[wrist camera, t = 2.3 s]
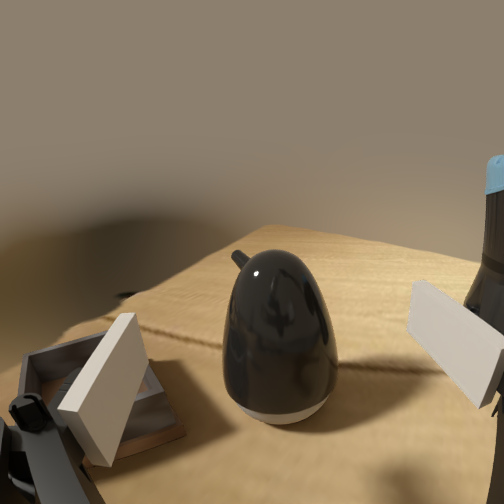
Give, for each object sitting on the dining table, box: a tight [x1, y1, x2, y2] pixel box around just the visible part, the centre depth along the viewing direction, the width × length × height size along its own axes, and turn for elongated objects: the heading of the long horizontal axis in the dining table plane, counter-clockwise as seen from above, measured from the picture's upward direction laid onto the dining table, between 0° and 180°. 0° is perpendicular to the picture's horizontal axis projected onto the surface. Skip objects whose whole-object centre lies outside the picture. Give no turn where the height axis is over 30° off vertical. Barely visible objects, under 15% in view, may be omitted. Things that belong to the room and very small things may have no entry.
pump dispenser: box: [222, 249, 339, 424], centre depth 25 cm, size 10×10×15 cm
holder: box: [15, 330, 187, 468], centre depth 25 cm, size 15×15×6 cm
